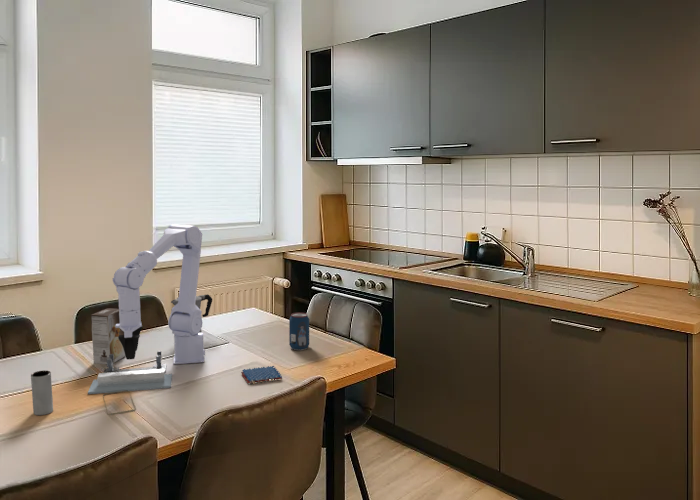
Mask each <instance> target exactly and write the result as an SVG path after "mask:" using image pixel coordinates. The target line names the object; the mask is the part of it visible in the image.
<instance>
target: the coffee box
mask: <svg viewBox="0 0 700 500" xmlns="http://www.w3.org/2000/svg"><path fill="white" fill-rule="evenodd" d="M90 320H91V322H90V323H91V340H92V353H93V355H92V356H93V363H94V364H100V365H101V364H103V365H107V359H109V354H114V362H113V364H114V363H115V362H118V361H120V360H122V359H123V358H126V356H125V352H124V349H123V346H122V344H121V342H120V341H119V339H118V337H119V335H124V332H123V331H122V330H121V329H120V328H116V327H115V325H116V324H120V318H119V308H109V307H108V308H105V309H102V310H99V311H97V312H95V313H92V314H90Z"/></svg>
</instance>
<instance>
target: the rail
mask: <svg viewBox="0 0 700 500" xmlns="http://www.w3.org/2000/svg"><path fill="white" fill-rule="evenodd" d="M165 374H166V373H165V369H152V370H138V371H124V372H110V373H104V372H101V373H100V372H98V375H97V376H96V377H97V379H98V387H106V386H119V385H132V384H145V383H158V382H165Z"/></svg>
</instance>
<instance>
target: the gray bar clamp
mask: <svg viewBox="0 0 700 500" xmlns="http://www.w3.org/2000/svg"><path fill="white" fill-rule="evenodd" d="M162 358H163V357H162V350H157V351H156V356H155V360H156V362H155V364H153V365H152V367H134V368H123V369H121V368H120V367H114V363H115V362H114V354H109V359H107V364H106V368H104V370H103V373H110V372H124V371H138V370H152V369H165V374H166V373H167V366H168V365H167V363H163V364H162ZM113 362H114V363H113Z"/></svg>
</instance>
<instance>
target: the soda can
mask: <svg viewBox="0 0 700 500" xmlns="http://www.w3.org/2000/svg"><path fill="white" fill-rule="evenodd" d="M288 323H289V324H288V325H289V328H288V332H289V339H288V342H289V347H290V348H291V350H293V349H294V351H303V350H304V349H305V350H307V349H308V348H309V346H310V317H309V315H308V313H306V312H301V311H300V312H293V313H291V314H290V318H289V321H288ZM305 350H304V351H305Z"/></svg>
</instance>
